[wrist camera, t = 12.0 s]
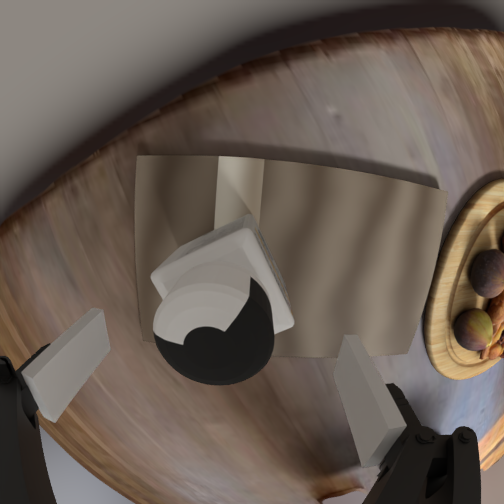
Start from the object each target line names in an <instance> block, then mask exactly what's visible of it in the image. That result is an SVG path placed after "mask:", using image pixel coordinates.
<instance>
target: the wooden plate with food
mask: <svg viewBox="0 0 504 504" xmlns="http://www.w3.org/2000/svg"><path fill="white" fill-rule="evenodd" d="M424 335H425V345H426V350H427V354H428V357H429V360H430V362H431V364H432V366H433V367H434V368H435V369H436V371H437V372H439V373H440V374H441V375H443V376H445V377H447V378H450V379H456V380H462V379H467V378H471V377H474V376H476V375H479V374H481V373H482V372H484V371H486V370H487V369H489V368H490V367H492V366H493V365H494V364H496V363H497V362H498V361H499V360H500V359H501V358H504V178H502V179H498V180H495V181H492V182H490V183H488V184H486V185H485V186H483V187H482V188H481V189H480V190H478V191H477V192H476V193H475V194H474V195H473V196H472V198H471V199H470V200H469V201H468V202H467V204H466V205H465V206H464V208H463V209H462V211H461V212H460V214H459V216H458V217H457V219H456V221H455V222H454V224H453V226H452V228H451V230H450V232H449V234H448V236H447V238H446V240H445V242H444V245H443V247H442V250H441V252H440V255H439V258H438V261H437V264H436V267H435V270H434V273H433V277H432V281H431V285H430V288H429V292H428V298H427V304H426V313H425V323H424Z"/></svg>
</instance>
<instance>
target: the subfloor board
mask: <svg viewBox="0 0 504 504" xmlns="http://www.w3.org/2000/svg"><path fill="white" fill-rule="evenodd" d="M447 195H448V192H447V191H443V190H440V189H436V188H432V187H428V186H424V185H420V184H416V183H412V182H408V181H403V180H399V179H394V178H390V177H385V176H380V175H375V174H369V173H364V172H359V171H353V170H347V169H341V168H334V167H328V166H321V165H313V164H305V163H297V162H288V161H279V160H268V159H258V158H244V157H227V156H199V155H145V156H137V160H136V177H135V260H136V278H137V291H138V302H139V312H140V321H141V329H142V337H143V341H146V342H152V343H156V342H155V339H154V333H153V322H154V317H155V314H156V311H157V309H158V307H159V306H160V304H161V302H162V301H163V299H162V297H161V296H160V294H159V292H158V291H157V289H156V287H155V285H154V284H153V282H152V280H151V273H152V272H153V271H154V270H156V269H157V268H158V267H159V266H160V265H161V264H162V263H163V262H164V261H165V260H166V259H167V258H168V257H169V256H170V255H171V254H172V253H174V252H175V251H176V250H177V249H178V248H179V247H180V246H182V245H184V244H186V243H188V242H190V241H193V240H195V239H197V238H199V237H201V236H203V235H205V234H207V233H209V232H211V231H213V230H215V229H217V228H219V227H221V226H224V225H226V224H228V223H230V222H232V221H234V220H236V219H238V218H241V217H243V216H245V215H247V214H252V215H253V216H254V218H255V220H256V222H257V225H258V227H259V229H260V231H261V233H262V235H263V237H264V239H265V242H266V244H267V246H268V248H269V250H270V252H271V254H272V257H273V259H274V261H275V263H276V265H277V267H278V270H279V272H280V274H281V276H282V278H283V280H284V283H285V285H286V289H287V293H288V297H289V301H290V305H291V309H292V313H293V318H294V325H293V327H291V328H289V329H287V330H284V331H282V332H279V333H276V334H274V336H275V341H274V349H273V352H272V355H271V356H277V357H309V358H338V355H339V352H340V348H341V345H342V341H343V337H344V335H358V337H359V339H360V340H361V342H362V344H363V346H364V347H365V349H366V351H367V352H368V354H369V356H386V355H399V354H407V353H408V351H409V348H410V346H411V343H412V340H413V338H414V335H415V332H416V329H417V327H418V324H419V321H420V318H421V315H422V312H423V309H424V305H425V302H426V299H427V296H428V292H429V288H430V285H431V281H432V277H433V273H434V269H435V265H436V261H437V256H438V252H439V247H440V242H441V236H442V231H443V225H444V218H445V211H446V204H447Z"/></svg>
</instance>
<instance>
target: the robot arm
mask: <svg viewBox="0 0 504 504" xmlns="http://www.w3.org/2000/svg"><path fill="white" fill-rule="evenodd" d="M110 350H111V349H110V344H109V339H108V334H107V328H106V323H105V317H104V311H103V310H102V309H97V308H92V309H90V310H89V311H88V312H87V313H86V314H85V315H83V316H82V317H81V318H80V319H79V320H78V321H76V322H75V323H74V324H73V325H72V326H71V327H70V328H68V329H67V330H66V331H65V332H64V333H63V334H62V335H61V336H59V337H58V338H57V339H56V340H55V341H54V342H53V343H52V344H50V343H49V344H47V345H45V346H43V347H41V348H40V349H39V350H38V351H37V352H36V354H34V355H32V356H31V358H29V359H28V360H27V361H26V362H25V363H24V364H23V365H22V366H21V367H20V368H19V369H17V370H16V371H15V370H14V368H13V365H12V363H11V360H10V359H9V358H8V357H6V356H0V504H57V503H56V499H55V496H54V493H53V490H52V487H51V483H50V479H49V475H48V471H47V467H46V463H45V459H44V453H43V448H42V442H41V436H40V429H39V422H38V416H37V414H36V411H37V410H38V409H39V410H40V411H41V413H42V415H43V417H45V418H47V419H49V420H50V421H52V422H54V423H55V422H56V421H57V419H58V418H59V417H60V415H61V414H62V412H63V411H64V410H65V408H66V407H67V406H68V404H69V403H70V402H71V400H72V399H73V398H74V396H75V395H76V394H77V392H78V391H79V390H80V388H81V387H82V386H83V384H84V383H85V382H86V380H87V379H88V378H89V377H90V375H91V374H92V373H93V371H94V370H95V369H96V368H97V366H98V365H99V364H100V363H101V361H102V360H103V359H104V358H105V356H106V355H107V354H108V353H109V351H110ZM333 377H334V380H335V383H336V386H337V389H338V392H339V395H340V398H341V401H342V404H343V407H344V410H345V414H346V417H347V420H348V423H349V426H350V429H351V433H352V436H353V439H354V442H355V446H356V449H357V452H358V455H359V459H360V462H361V466H362V468H365V467H371V466H376V465H379V464H380V462H381V461H382V460H383V459H384V458H385V461H384V463H383V464H382V465H381V467H380V471H381V472H380V473H379V474H378V475H377V476H378V479H377V481H376V482H375V484H374V486H373V487H372V489H371V491H370V492H369V494H368V495H367V497H366V498H365V500H364V502H363V503H362V504H481V475H480V460H479V450H478V442H477V436H476V433H475V432H474V431H473V430H472V429H470V428H469V427H465V426H462V427H458V428H456V429H455V431H454V432H453V433H452V435H436V433H435V432H434V431H433V430H432V429H430V428H428V427H424V426H421V424H420V422H419V420H418V419H417V417H416V415H415V413H414V411H413V410H412V408H411V406H410V405H409V403H408V401H407V399H405V396H404V394H403V392H402V391H401V389H400V388H398V387H397V386H396V385H395V384H394V383H391V384H385V383H384V381H383V379H382V377H381V376H380V374H379V372H378V370H377V368H376V367H375V365H374V363H373V361H372V360H371V358H370V356H369V354H368V352H367V351H366V349H365V347H364V346H363V344H362V342H361V340H360V339H359V337H358V335H344V337H343V341H342V345H341V348H340V352H339V355H338V359H337V362H336V366H335V369H334V372H333Z"/></svg>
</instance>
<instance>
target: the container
mask: <svg viewBox="0 0 504 504" xmlns="http://www.w3.org/2000/svg"><path fill="white" fill-rule="evenodd" d="M151 280H152V282H153V284H154V285H155V287H156V289H157V291H158V292H159V294H160V296H161V297H162V299H163V301H162V302H161V304H160V306H159V307H158V309H157V311H156V314H155V317H154V322H153V333H154V339H155V342H156V345H157V347H158V349H159V351H160V353H161V354H162V356H163V357H164V358H165V360H166V361H167V362H168V363H169V364H170V365H171V366H172V367H173V368H174V369H175V370H176V371H178V372H179V373H180V374H182V375H184V376H185V377H187V378H189V379H191V380H194V381H197V382H200V383H204V384H209V385H230V384H235V383H238V382H241V381H244V380H246V379H248V378H250V377H252V376H254V375H255V374H257V373H258V372H259V371H260V370H261V369H262V368H263V367H264V366H265V365H266V364H267V362H268V361H269V359H270V357H271V355H272V352H273V349H274V341H275V336H274V334H276V333H279V332H282V331H284V330H287V329H289V328H291V327H293V325H294V318H293V313H292V309H291V305H290V301H289V297H288V293H287V289H286V285H285V283H284V280H283V278H282V276H281V274H280V272H279V270H278V267H277V265H276V263H275V261H274V259H273V257H272V254H271V252H270V250H269V248H268V246H267V244H266V242H265V239H264V237H263V235H262V233H261V231H260V229H259V227H258V225H257V222H256V220H255V218H254V216H253V215H252V214H247V215H245V216H243V217H241V218H238V219H236V220H234V221H232V222H230V223H228V224H226V225H224V226H221V227H219V228H217V229H215V230H213V231H211V232H209V233H207V234H205V235H203V236H201V237H199V238H197V239H195V240H193V241H190V242H188V243H186V244H184V245H182V246H180V247H179V248H178V249H177V250H176V251H175V252H174V253H172V254H171V255H170V256H169V257H168V258H167V259H166V260H165V261H164V262H163V263H162V264H161V265H160V266H159V267H158V268H157V269H156V270H154V271H153V272H152V273H151Z"/></svg>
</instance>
